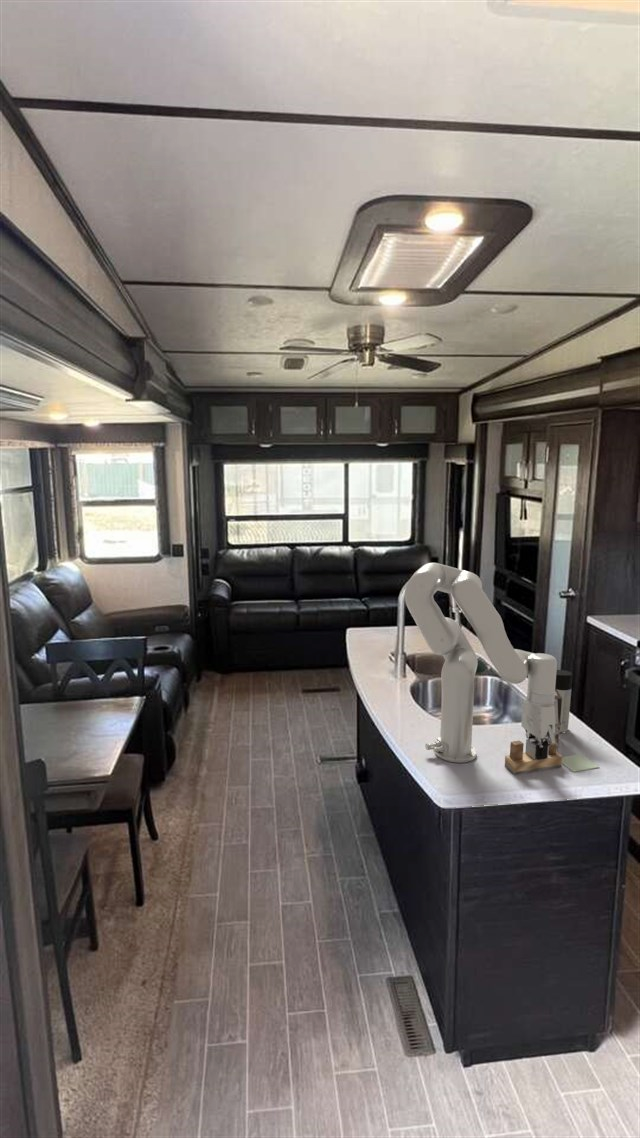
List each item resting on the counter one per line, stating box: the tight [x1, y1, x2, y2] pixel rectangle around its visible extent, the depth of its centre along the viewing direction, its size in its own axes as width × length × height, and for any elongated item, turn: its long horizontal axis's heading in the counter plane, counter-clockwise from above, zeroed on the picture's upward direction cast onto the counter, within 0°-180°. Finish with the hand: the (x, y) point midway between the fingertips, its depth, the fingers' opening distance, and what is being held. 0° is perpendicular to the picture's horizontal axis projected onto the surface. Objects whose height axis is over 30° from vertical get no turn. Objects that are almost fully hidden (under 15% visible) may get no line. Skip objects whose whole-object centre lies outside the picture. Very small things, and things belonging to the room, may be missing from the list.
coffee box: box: [536, 689, 562, 747], centre depth 196 cm, size 9×6×16 cm
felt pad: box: [562, 754, 600, 773], centre depth 182 cm, size 9×8×1 cm
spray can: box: [555, 669, 573, 734], centre depth 203 cm, size 7×7×20 cm
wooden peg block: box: [504, 740, 563, 776], centre depth 179 cm, size 16×5×8 cm, turn 107°
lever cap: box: [524, 738, 549, 760], centre depth 179 cm, size 5×4×6 cm
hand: (536, 754), depth 179 cm, fingers closed on lever cap, 4 cm apart
